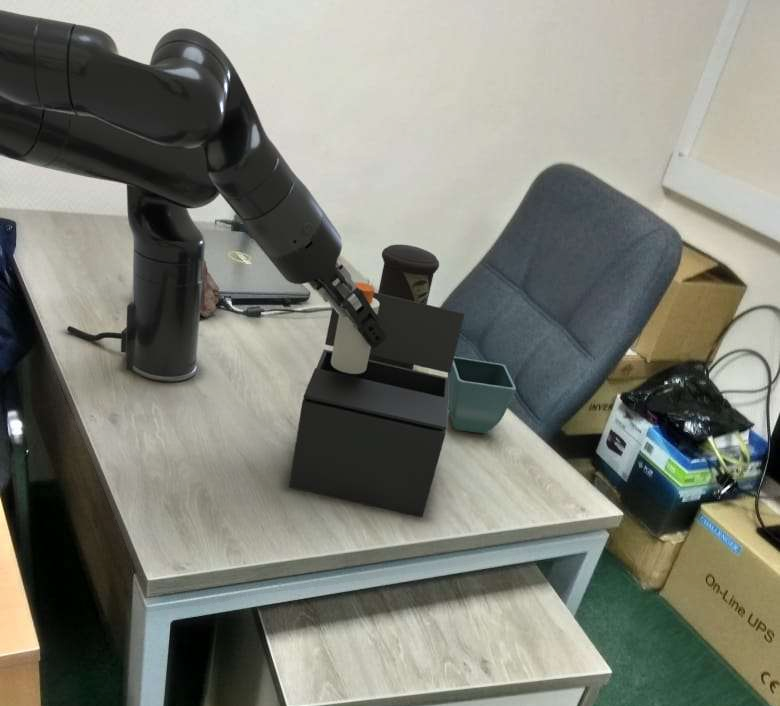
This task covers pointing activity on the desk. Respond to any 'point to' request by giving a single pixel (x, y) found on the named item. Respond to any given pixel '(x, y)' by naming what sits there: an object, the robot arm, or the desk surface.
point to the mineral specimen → (208, 293)
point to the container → (406, 279)
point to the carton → (371, 435)
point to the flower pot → (478, 394)
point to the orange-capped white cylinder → (352, 340)
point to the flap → (412, 332)
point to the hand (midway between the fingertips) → (368, 332)
